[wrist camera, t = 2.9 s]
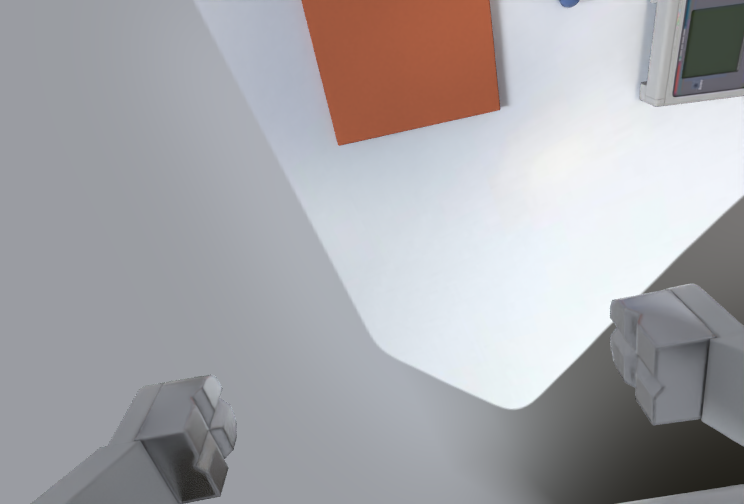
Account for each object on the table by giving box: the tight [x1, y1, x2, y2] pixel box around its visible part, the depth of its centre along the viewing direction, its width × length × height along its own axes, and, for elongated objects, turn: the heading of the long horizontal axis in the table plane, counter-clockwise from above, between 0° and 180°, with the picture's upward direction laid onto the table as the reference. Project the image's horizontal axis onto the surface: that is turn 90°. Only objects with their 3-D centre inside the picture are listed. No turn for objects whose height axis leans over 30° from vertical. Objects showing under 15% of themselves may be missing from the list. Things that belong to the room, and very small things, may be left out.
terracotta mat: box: [302, 0, 500, 146], centre depth 39 cm, size 14×20×1 cm
